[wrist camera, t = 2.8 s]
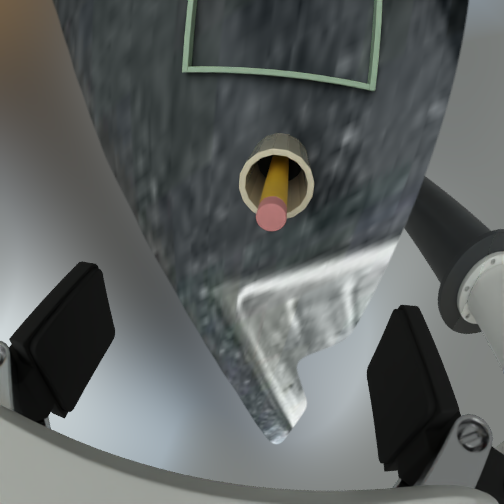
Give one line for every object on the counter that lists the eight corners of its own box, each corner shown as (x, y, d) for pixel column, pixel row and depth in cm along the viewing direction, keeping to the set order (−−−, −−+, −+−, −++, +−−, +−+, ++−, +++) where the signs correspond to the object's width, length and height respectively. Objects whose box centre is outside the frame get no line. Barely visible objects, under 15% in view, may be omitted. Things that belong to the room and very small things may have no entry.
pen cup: (310, 136, 32) (318, 154, 23) (304, 187, 34) (308, 224, 26) (255, 130, 32) (241, 145, 23) (251, 181, 35) (237, 215, 26)
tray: (378, -24, 21) (383, -30, 20) (370, 91, 28) (375, 91, 27) (198, -40, 23) (193, -46, 21) (187, 73, 30) (181, 72, 28)
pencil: (289, 153, 32) (288, 205, 18) (287, 169, 33) (284, 233, 19) (272, 151, 32) (257, 201, 18) (270, 167, 33) (254, 229, 19)
